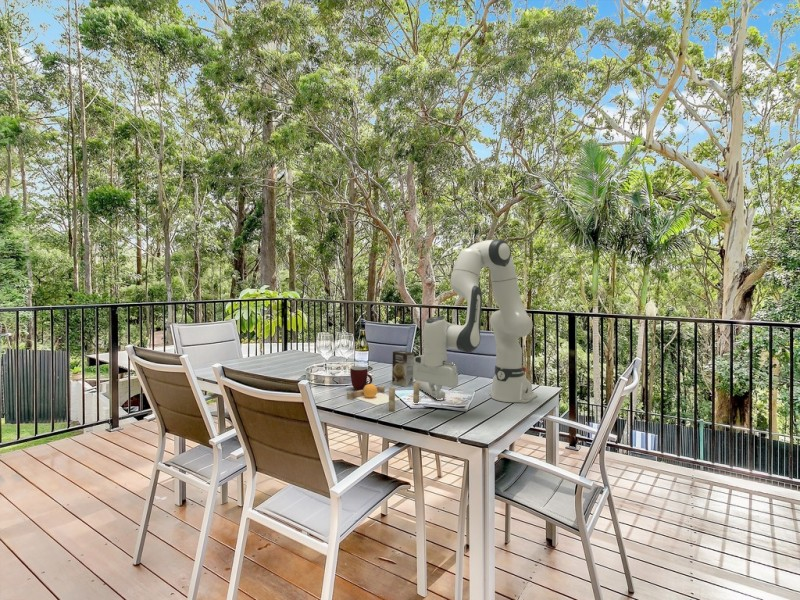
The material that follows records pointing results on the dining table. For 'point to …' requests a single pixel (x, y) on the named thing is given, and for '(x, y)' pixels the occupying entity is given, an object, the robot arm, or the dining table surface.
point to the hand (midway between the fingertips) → (435, 394)
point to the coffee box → (403, 368)
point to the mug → (359, 377)
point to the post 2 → (416, 392)
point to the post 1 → (391, 399)
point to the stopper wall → (360, 393)
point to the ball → (370, 390)
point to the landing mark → (377, 399)
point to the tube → (426, 388)
